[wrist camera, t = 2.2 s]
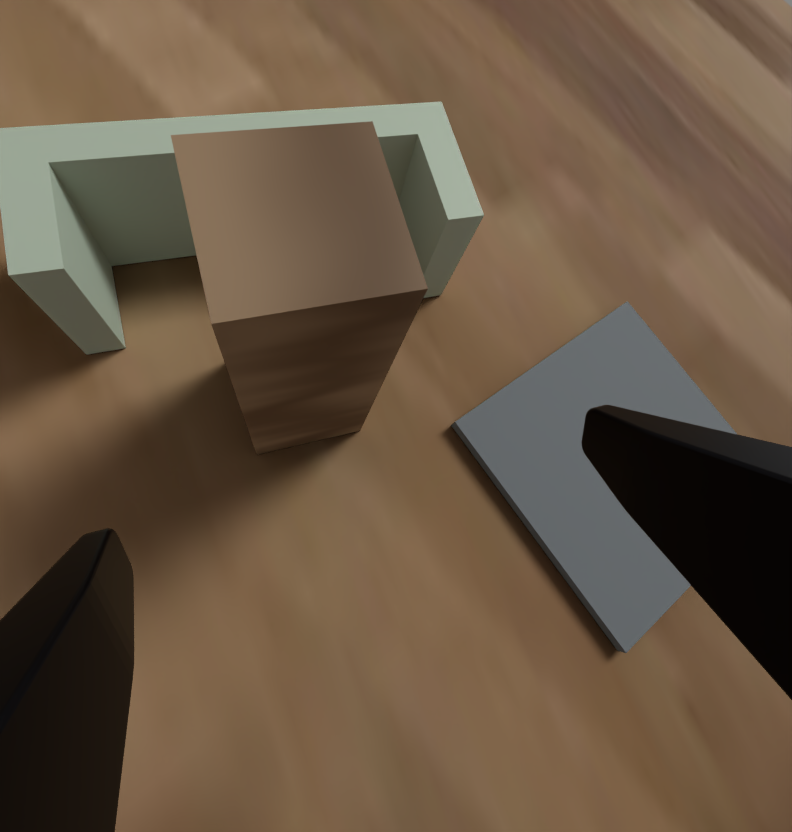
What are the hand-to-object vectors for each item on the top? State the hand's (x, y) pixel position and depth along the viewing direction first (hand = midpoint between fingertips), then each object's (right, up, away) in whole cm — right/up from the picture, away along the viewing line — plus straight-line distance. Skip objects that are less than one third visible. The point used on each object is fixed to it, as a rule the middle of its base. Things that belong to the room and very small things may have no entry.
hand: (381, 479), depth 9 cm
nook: (-6, +7, +14) cm, 17 cm away
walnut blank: (-4, +2, +13) cm, 14 cm away
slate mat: (+11, -1, +15) cm, 18 cm away
